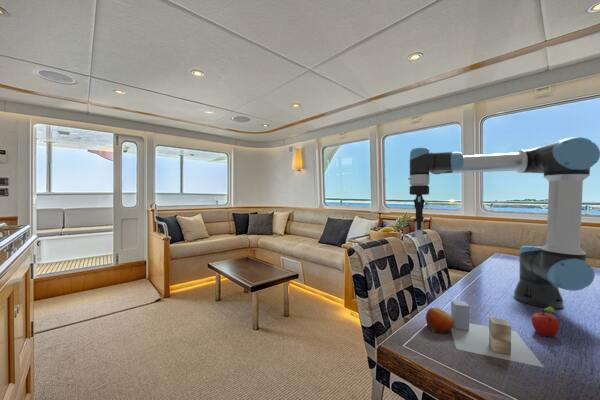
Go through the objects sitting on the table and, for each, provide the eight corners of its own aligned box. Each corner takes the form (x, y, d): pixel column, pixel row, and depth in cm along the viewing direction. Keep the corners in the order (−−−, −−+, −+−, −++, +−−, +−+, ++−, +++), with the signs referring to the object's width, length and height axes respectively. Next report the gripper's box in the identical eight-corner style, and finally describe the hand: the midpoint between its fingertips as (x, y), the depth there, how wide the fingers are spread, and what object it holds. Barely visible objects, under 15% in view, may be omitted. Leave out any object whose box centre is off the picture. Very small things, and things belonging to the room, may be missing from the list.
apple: (524, 329, 83) (524, 299, 83) (543, 329, 83) (543, 298, 83) (548, 343, 75) (549, 309, 75) (569, 342, 76) (570, 309, 76)
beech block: (505, 347, 72) (506, 319, 72) (510, 355, 68) (511, 326, 68) (488, 344, 74) (489, 317, 74) (492, 352, 70) (493, 323, 70)
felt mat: (515, 332, 81) (515, 331, 81) (544, 369, 64) (544, 367, 64) (447, 320, 89) (447, 319, 89) (456, 350, 71) (456, 349, 71)
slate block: (464, 325, 85) (464, 301, 85) (469, 331, 81) (469, 306, 81) (451, 323, 86) (451, 300, 86) (455, 329, 82) (455, 305, 82)
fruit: (415, 320, 86) (427, 300, 86) (434, 331, 86) (445, 311, 87) (429, 333, 78) (442, 310, 78) (450, 345, 78) (462, 322, 79)
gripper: (410, 186, 119) (410, 231, 120) (408, 184, 97) (408, 239, 97) (428, 186, 116) (427, 232, 116) (430, 183, 94) (430, 240, 94)
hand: (418, 235), depth 107 cm, fingers open, 13 cm apart
